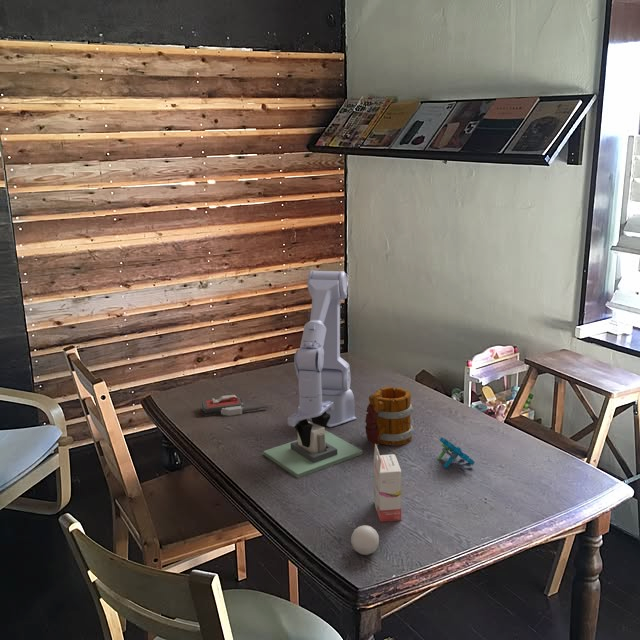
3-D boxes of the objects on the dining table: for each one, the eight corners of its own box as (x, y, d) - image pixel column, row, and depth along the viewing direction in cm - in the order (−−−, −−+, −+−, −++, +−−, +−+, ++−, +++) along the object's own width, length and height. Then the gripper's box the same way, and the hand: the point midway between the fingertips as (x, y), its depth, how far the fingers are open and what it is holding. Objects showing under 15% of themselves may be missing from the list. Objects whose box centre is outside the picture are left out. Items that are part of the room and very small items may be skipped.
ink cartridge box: (402, 521, 154) (402, 458, 150) (379, 522, 154) (379, 460, 150) (395, 500, 163) (395, 440, 159) (373, 502, 162) (372, 442, 158)
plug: (303, 439, 191) (302, 418, 189) (328, 450, 184) (327, 428, 183) (292, 444, 188) (291, 423, 186) (317, 455, 182) (316, 433, 180)
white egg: (382, 559, 141) (381, 534, 140) (353, 561, 141) (352, 536, 139) (375, 537, 149) (375, 513, 147) (348, 539, 148) (347, 515, 147)
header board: (325, 433, 198) (325, 425, 197) (362, 454, 185) (362, 445, 184) (263, 454, 187) (263, 445, 186) (298, 478, 174) (297, 468, 173)
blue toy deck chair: (483, 465, 174) (455, 442, 171) (468, 485, 173) (440, 461, 170) (461, 452, 184) (434, 429, 181) (447, 470, 184) (420, 448, 181)
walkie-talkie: (201, 421, 210) (268, 412, 214) (200, 407, 209) (268, 398, 213) (198, 409, 218) (263, 401, 223) (197, 396, 217) (262, 388, 221)
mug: (421, 436, 194) (421, 384, 190) (383, 457, 183) (383, 403, 179) (389, 425, 202) (389, 375, 197) (351, 445, 190) (350, 392, 186)
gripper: (319, 382, 189) (321, 429, 193) (278, 398, 179) (281, 448, 183) (339, 388, 184) (340, 437, 188) (297, 405, 174) (300, 456, 178)
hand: (312, 443), depth 185 cm, fingers closed on plug, 4 cm apart
